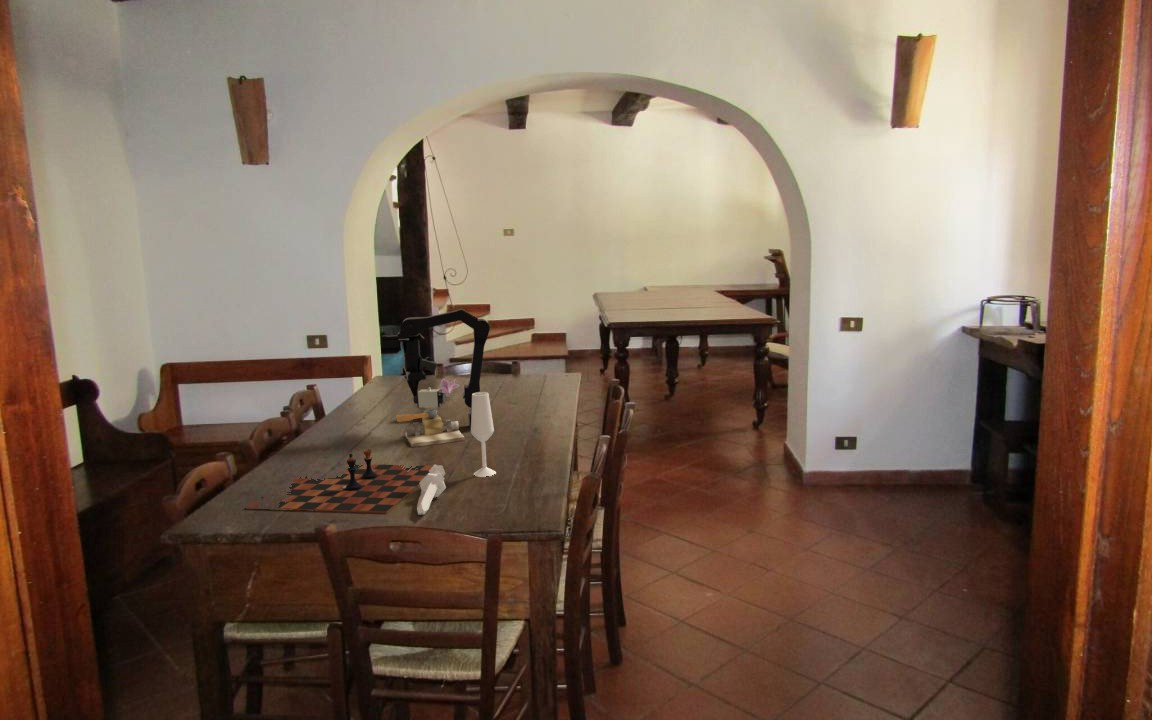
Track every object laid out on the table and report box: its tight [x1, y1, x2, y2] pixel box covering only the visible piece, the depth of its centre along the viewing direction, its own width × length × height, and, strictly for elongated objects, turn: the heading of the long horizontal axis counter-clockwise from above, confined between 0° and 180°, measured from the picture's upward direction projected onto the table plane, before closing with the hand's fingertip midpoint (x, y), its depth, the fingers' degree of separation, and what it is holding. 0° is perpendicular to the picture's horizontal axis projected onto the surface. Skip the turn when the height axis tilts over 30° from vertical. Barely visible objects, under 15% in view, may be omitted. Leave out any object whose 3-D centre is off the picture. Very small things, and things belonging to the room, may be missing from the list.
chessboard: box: [246, 448, 433, 515], centre depth 218 cm, size 40×40×11 cm
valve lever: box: [396, 410, 437, 423], centre depth 266 cm, size 3×14×2 cm, turn 113°
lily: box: [437, 378, 460, 401], centre depth 328 cm, size 12×12×10 cm
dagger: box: [416, 464, 447, 516], centre depth 203 cm, size 8×6×28 cm
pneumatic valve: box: [412, 387, 447, 418], centre depth 296 cm, size 6×12×12 cm, turn 82°
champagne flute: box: [470, 391, 497, 478], centre depth 223 cm, size 7×7×24 cm
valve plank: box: [404, 415, 466, 448], centre depth 266 cm, size 18×16×7 cm
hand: (414, 395), depth 275 cm, fingers closed
